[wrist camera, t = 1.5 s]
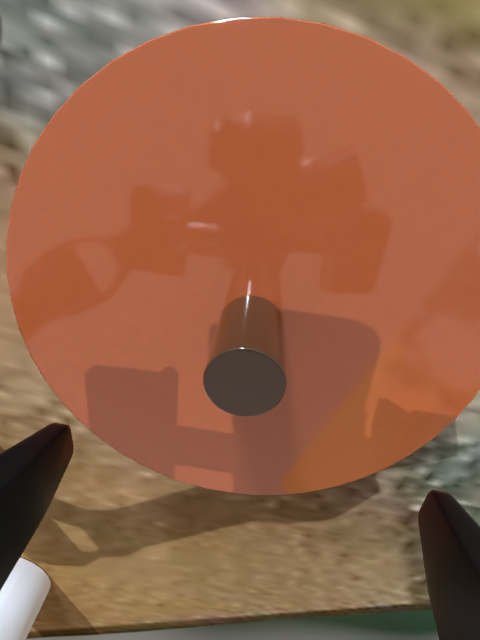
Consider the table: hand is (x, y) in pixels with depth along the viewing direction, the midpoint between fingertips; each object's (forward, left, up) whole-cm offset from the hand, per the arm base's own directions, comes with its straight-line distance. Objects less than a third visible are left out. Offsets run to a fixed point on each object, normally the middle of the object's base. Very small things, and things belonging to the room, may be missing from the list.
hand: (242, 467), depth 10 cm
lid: (0, 0, -7) cm, 7 cm away
